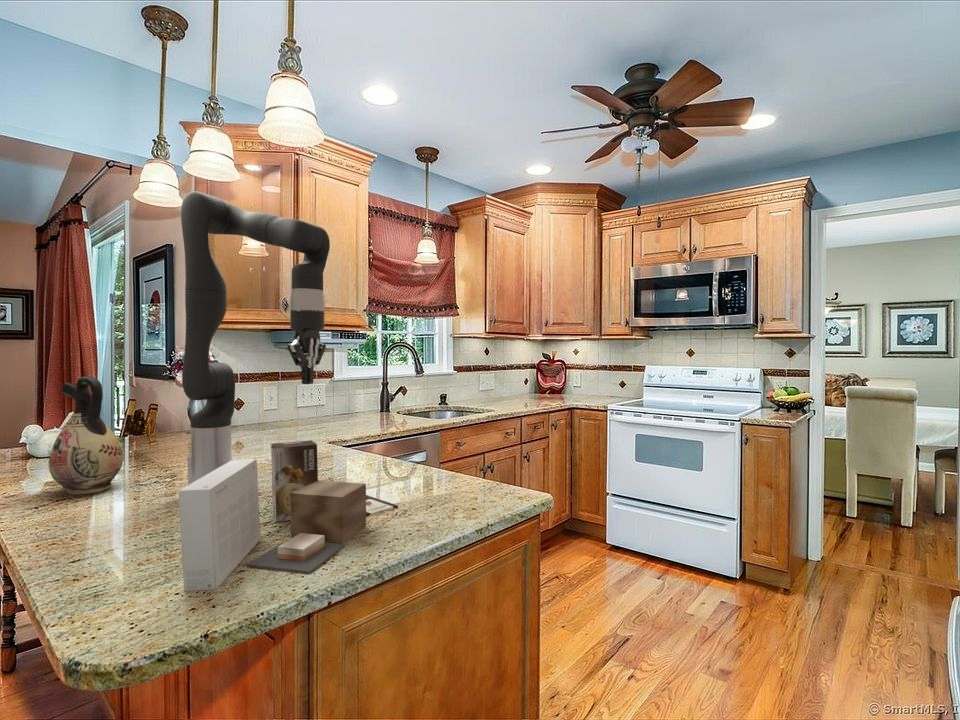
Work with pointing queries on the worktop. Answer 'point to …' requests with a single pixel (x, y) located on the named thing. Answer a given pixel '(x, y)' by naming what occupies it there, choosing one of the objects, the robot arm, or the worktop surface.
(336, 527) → the step
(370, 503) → the chocolate bar
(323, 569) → the worktop surface
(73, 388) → the ceramic jug
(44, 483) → the worktop surface
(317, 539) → the tile
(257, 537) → the skincare box
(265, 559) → the mat
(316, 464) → the coffee box
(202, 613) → the worktop surface
